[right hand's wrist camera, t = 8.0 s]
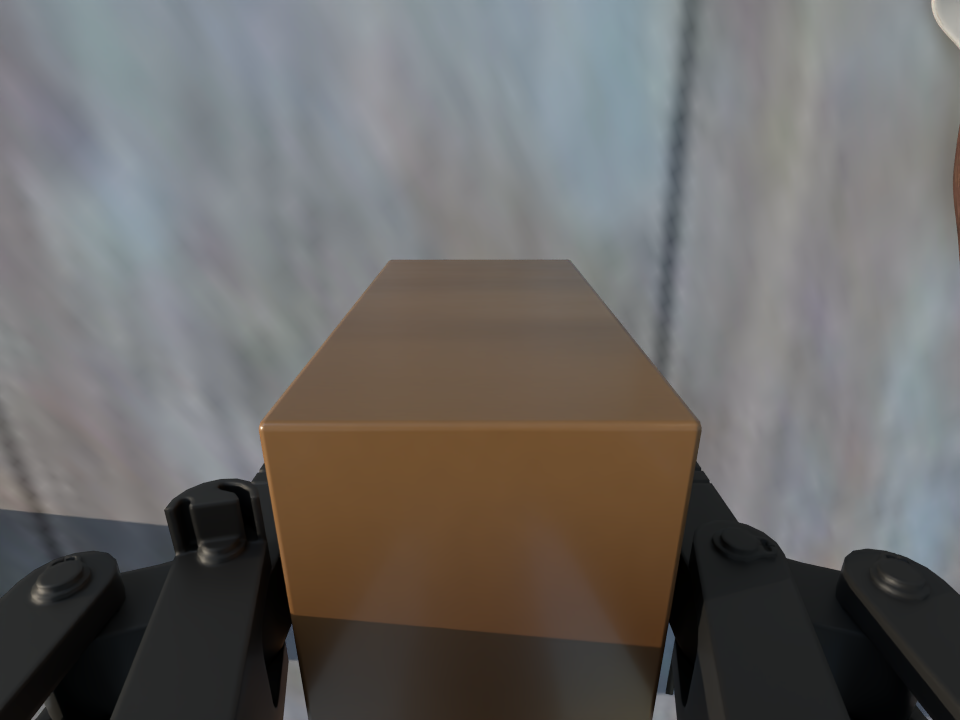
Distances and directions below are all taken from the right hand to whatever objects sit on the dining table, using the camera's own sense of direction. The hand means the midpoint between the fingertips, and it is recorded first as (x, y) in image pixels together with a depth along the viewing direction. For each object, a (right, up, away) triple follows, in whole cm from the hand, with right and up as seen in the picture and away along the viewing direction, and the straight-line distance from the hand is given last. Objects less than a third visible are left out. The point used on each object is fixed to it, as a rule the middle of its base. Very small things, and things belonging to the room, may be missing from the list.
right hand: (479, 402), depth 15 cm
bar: (0, -8, +4) cm, 9 cm away
